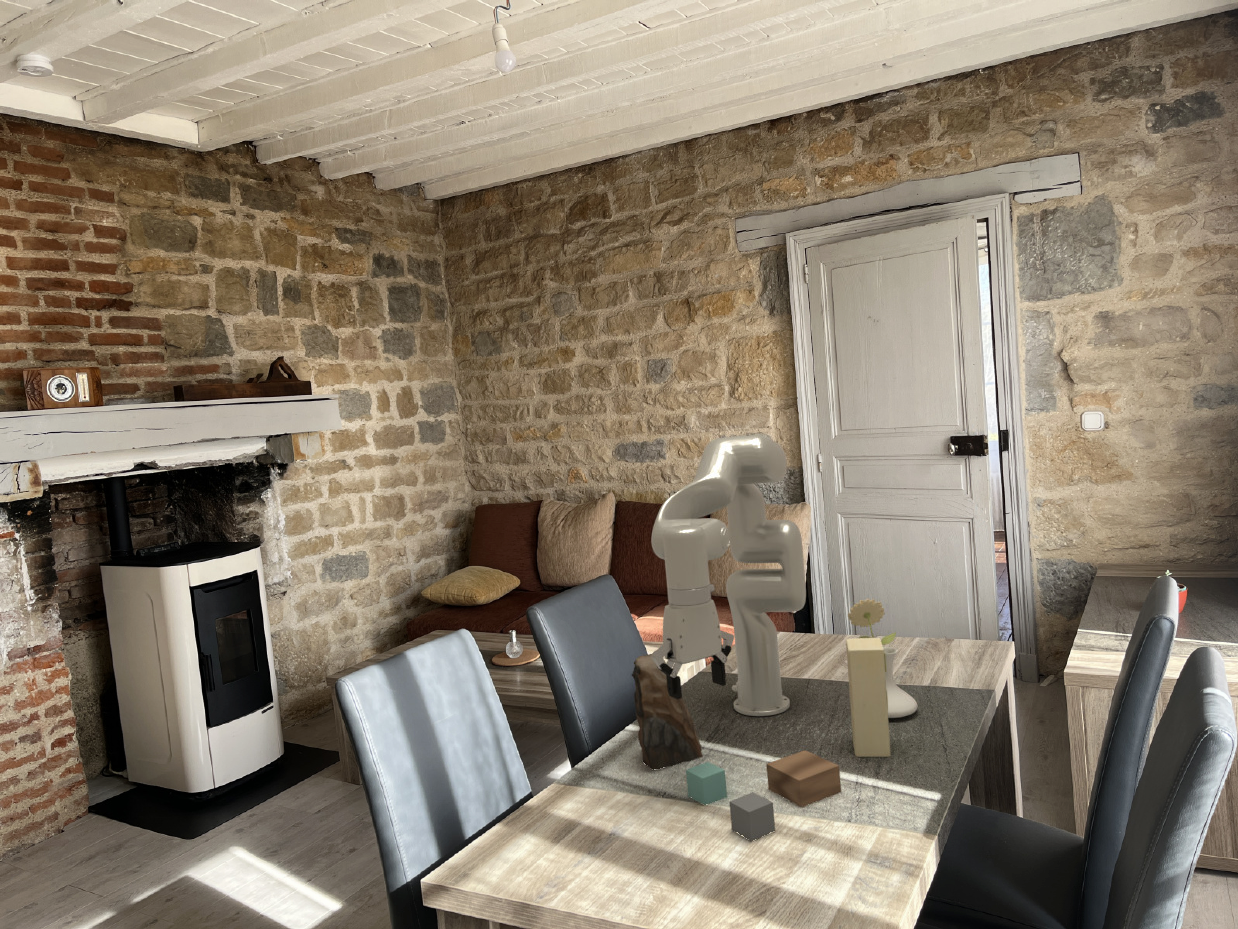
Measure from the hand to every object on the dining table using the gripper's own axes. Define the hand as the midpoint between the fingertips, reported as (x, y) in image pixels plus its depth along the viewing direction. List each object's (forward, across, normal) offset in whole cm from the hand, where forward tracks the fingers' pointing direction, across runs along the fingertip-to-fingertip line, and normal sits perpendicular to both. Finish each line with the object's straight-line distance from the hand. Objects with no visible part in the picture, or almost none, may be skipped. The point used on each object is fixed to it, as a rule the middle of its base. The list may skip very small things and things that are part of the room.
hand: (697, 690), depth 156 cm
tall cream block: (+20, -36, +6) cm, 42 cm away
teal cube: (+20, 0, 0) cm, 20 cm away
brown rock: (+20, -5, -19) cm, 28 cm away
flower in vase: (+19, -52, -5) cm, 56 cm away
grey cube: (+20, +2, +15) cm, 25 cm away
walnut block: (+20, -14, +10) cm, 26 cm away
